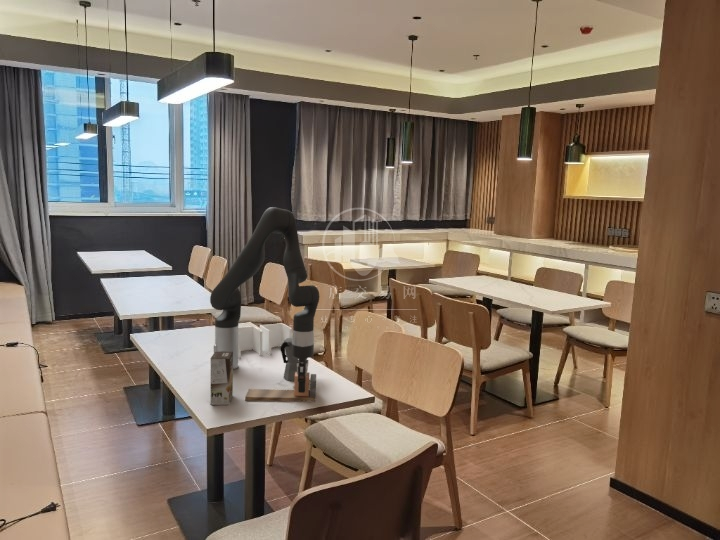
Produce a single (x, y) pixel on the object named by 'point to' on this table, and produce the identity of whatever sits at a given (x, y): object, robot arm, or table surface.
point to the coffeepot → (289, 360)
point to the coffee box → (221, 378)
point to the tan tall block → (296, 385)
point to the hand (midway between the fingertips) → (302, 389)
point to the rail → (282, 394)
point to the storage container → (262, 337)
